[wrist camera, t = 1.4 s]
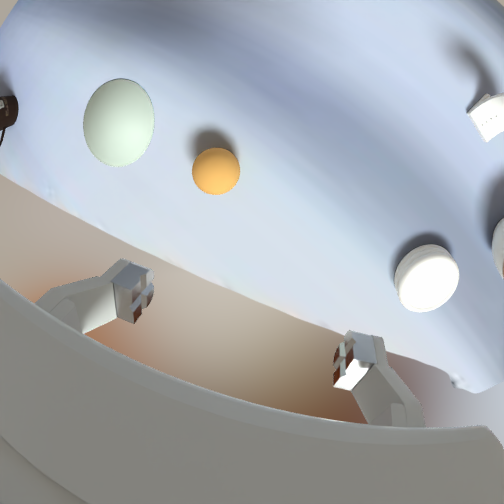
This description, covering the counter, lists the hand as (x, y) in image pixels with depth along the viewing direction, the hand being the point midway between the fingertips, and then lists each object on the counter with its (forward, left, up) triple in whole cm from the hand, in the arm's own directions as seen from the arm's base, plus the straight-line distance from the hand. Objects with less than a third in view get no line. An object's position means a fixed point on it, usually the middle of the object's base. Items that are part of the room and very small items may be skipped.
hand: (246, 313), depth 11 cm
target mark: (-21, -13, -25) cm, 35 cm away
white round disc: (+24, +7, -26) cm, 36 cm away
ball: (-5, -6, -22) cm, 24 cm away
